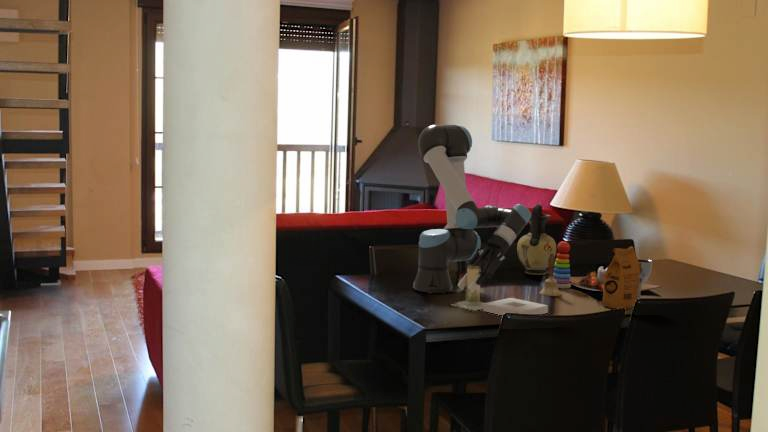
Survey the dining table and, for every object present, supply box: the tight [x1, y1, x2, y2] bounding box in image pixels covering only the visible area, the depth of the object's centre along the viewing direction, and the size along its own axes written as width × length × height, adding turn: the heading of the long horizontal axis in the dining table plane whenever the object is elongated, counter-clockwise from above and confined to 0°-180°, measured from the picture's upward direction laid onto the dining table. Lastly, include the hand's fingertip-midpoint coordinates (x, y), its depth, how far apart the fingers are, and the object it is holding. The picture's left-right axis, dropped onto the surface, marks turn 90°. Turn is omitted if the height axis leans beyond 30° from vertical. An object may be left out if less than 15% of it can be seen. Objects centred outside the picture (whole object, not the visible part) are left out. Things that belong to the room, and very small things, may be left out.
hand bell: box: [539, 253, 562, 297], centre depth 340 cm, size 8×8×16 cm
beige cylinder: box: [465, 263, 482, 302], centre depth 314 cm, size 5×5×13 cm
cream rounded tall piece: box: [516, 204, 557, 276], centre depth 384 cm, size 18×17×30 cm
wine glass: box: [638, 258, 653, 298], centre depth 336 cm, size 8×8×15 cm
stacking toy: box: [553, 240, 572, 290], centre depth 354 cm, size 8×8×19 cm
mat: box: [457, 300, 485, 310], centre depth 315 cm, size 12×12×1 cm
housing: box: [482, 297, 549, 316], centre depth 307 cm, size 16×16×3 cm
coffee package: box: [601, 245, 640, 310], centre depth 321 cm, size 10×12×22 cm
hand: (465, 288), depth 312 cm, fingers closed on beige cylinder, 5 cm apart
